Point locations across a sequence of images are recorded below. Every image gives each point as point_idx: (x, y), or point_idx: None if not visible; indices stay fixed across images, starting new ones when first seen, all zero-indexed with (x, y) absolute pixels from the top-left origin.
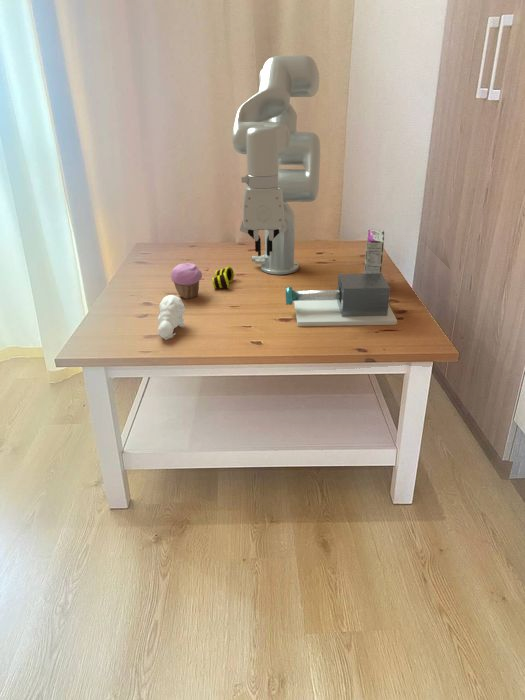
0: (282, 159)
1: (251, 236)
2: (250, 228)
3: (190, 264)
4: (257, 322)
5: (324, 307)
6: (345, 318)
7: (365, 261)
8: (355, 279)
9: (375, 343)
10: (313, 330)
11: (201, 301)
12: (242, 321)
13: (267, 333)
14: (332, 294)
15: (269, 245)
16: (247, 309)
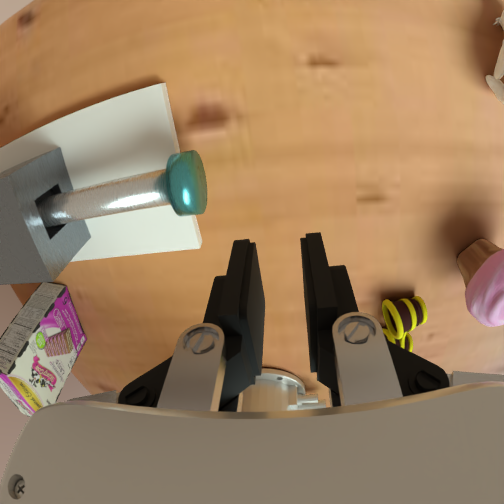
0: None
1: (404, 350)
2: (477, 394)
3: (501, 316)
4: (293, 91)
5: None
6: (52, 138)
7: (32, 339)
8: (9, 247)
9: (5, 59)
10: (120, 69)
11: (451, 228)
12: (341, 97)
13: (250, 24)
14: (61, 197)
15: (224, 287)
16: (333, 180)
